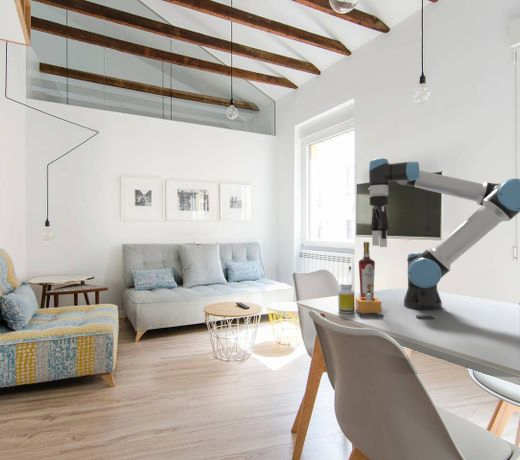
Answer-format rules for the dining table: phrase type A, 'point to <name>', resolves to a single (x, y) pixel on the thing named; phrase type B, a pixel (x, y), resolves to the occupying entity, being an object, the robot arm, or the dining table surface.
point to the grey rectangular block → (425, 317)
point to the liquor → (366, 273)
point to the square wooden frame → (368, 305)
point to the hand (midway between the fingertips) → (379, 246)
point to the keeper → (369, 298)
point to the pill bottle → (346, 298)
